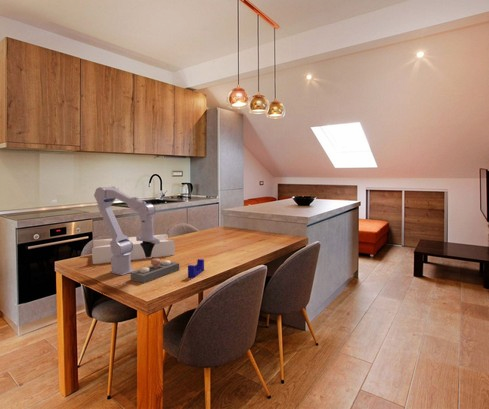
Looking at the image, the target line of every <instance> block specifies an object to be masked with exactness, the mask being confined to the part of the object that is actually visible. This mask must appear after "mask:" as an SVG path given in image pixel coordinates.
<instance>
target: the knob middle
mask: <svg viewBox="0 0 489 409" xmlns="http://www.w3.org/2000/svg"><path fill="white" fill-rule="evenodd" d="M160 263H161V258H158V257H155V258H152V259H150V266H152V265H153V269H154V270H157V269H158V265H159V264H160Z"/></svg>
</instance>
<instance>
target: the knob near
mask: <svg viewBox="0 0 489 409" xmlns="http://www.w3.org/2000/svg"><path fill="white" fill-rule="evenodd" d="M148 267H149V266H145V267H143V266H142V267H140V268H139V270H140V273H143V274H145V273H148V272H149V268H148Z"/></svg>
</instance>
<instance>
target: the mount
mask: <svg viewBox="0 0 489 409" xmlns="http://www.w3.org/2000/svg"><path fill="white" fill-rule="evenodd" d="M147 267H148V268H149V272H148V273H145V274H143V273H140V269H136V270H135V271H133V272H130V273H129V274H130V276H129V277H130V281H133V282H134V281H135V282H138V283H141V284H145V283H148V282H150V281H151V282H152V281H153V280H156V279H159V278H162V277H164V276H167V275H169V274H173V273H176V272H178V271H180V263H179V262H174V261H171V265H168V266H163V265H162V261H160V264H159V265H158V269H157V270H154V269H153V265H150V266H147Z"/></svg>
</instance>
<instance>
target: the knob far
mask: <svg viewBox="0 0 489 409" xmlns="http://www.w3.org/2000/svg"><path fill="white" fill-rule="evenodd" d="M161 262H162V265H163V266H168V265H171V262H172V260H168V259H166V260H162V261H161Z"/></svg>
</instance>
